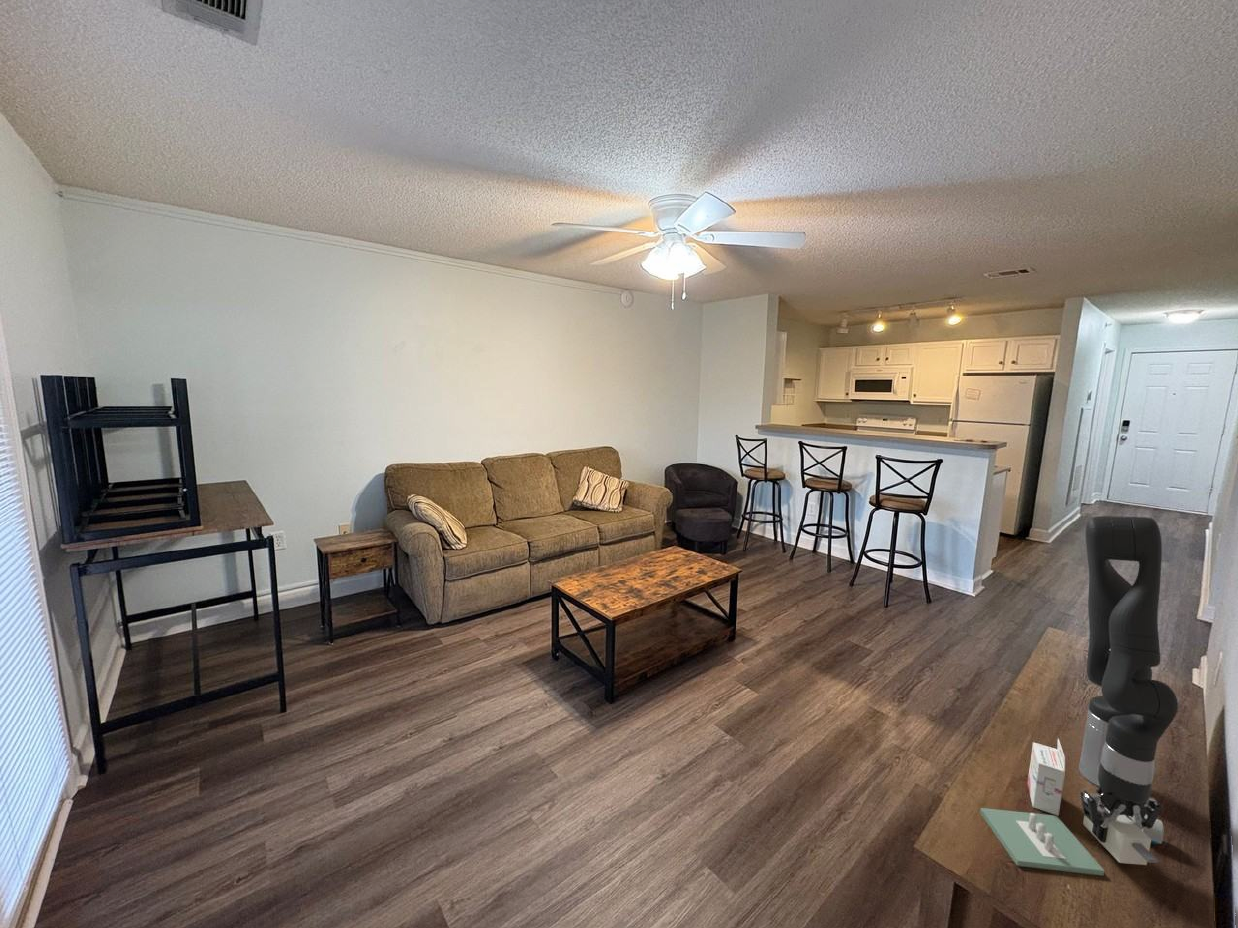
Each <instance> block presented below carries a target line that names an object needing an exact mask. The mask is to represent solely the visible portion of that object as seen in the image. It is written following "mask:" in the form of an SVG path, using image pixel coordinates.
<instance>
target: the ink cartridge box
mask: <svg viewBox="0 0 1238 928" xmlns="http://www.w3.org/2000/svg"><path fill="white" fill-rule="evenodd" d="M1062 747H1063V746H1062V745H1061V741H1060V739H1059V738H1057V748H1054V747H1050V746H1048V745H1044V744H1041V743H1037V742H1034V741H1032V749H1031V755H1030V756H1031V757H1030V762H1029V771H1028V776H1027V782H1026V783H1027V788H1028V792H1029V796H1030V800H1031V806H1032V808H1035V809H1037V810H1041V811H1043V812H1047V813H1049V814H1051V815H1054V816H1059V815H1060V809H1061V803H1062V797H1063V796H1062V795H1063V788H1064V783H1065V777H1066V776H1065V775H1066V756H1065V754H1064V751H1063V748H1062Z"/></svg>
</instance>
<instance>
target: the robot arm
mask: <svg viewBox="0 0 1238 928" xmlns="http://www.w3.org/2000/svg"><path fill="white" fill-rule="evenodd" d="M1085 546H1086V553H1087V554H1086V555H1087V565H1088V575H1089V577H1088V581H1089V582H1088V597H1087V599H1088V600H1087V601H1088V602H1087V608H1088V609H1087V611H1088V612H1087V613H1088V624H1089V625H1088V627H1089V628H1088V629H1089V641H1088V651H1087V660H1086V675H1087V677H1088V680H1089V681H1090V682H1091V683H1092V684H1094V685H1097V686H1098V687H1100V689H1101V695H1097V696H1093V697H1091V699H1090V700H1089V704H1088V709H1087V715H1086V724H1085V727H1084V728H1085V729H1084V735H1083V740H1082V741H1083V742H1082V749H1081V754H1080V760H1079V765H1078V771H1079V772H1080V775H1082V777H1083V778H1085V779H1086V780H1087V781H1089V782H1090V783H1091V784H1094V785H1095V786H1097V787H1098V788H1097V790H1096V792H1094V793H1093V792H1092V793H1088V792H1087V790H1082V791H1080V799H1081V805H1082V813H1083V815H1085V816H1086V817H1087V818H1088V819H1089V820H1090V821H1091V822H1092V823H1093V829H1092V832H1093V834H1094V835H1095V836H1096V837H1097V838H1096V837H1095V836H1094V835H1093V834H1092V835H1093V836H1094V837H1095V838H1096V840H1098V842H1099V841H1100V842H1104V843H1105V842H1106V838H1107V832H1108V828H1107V827H1108V826H1109V823H1110V822H1111V821H1115V820H1116V819H1117V817H1118V816H1119V815H1125V816H1126V817H1128V818H1129V819H1130V820H1131V821H1132V822H1133V823H1134V824H1135V825H1137V826H1138V827H1139V828H1140V829H1141V830H1142V829H1143V827H1147V828H1148V829H1150V828H1152V827H1153V825H1154V823H1155V821H1156V819H1158V817H1159V815H1160V813H1161V811H1162V809H1163V805H1162V804H1161V803H1160V802H1159V801H1157V800H1156V798H1154V797H1153V796H1151V790H1152V785H1153V779H1154V775H1155V757H1156V751H1157V748H1158V747H1157V746H1158V741H1159V740H1160V739H1161V737H1163V735H1164V733H1165V732H1166V730H1167V729H1168V728H1169V726H1170V725H1171V724H1172V723H1173V721H1174V720H1175V718H1176V716H1177V713H1178V711H1179V702H1178V697H1177V695H1176V693H1175V692H1174V690H1173V689H1172V688H1171V687H1170V686H1169V685H1167V684H1166V683H1164V682H1162V681H1159V680H1157V679H1153V669H1152V668H1155V667H1158V666H1159V665H1160V663H1161V649H1160V637H1159V630H1158V629H1159V627H1158V624H1159V623H1158V618H1159V617H1158V616H1159V615H1158V612H1159V611H1158V610H1159V601H1160V589H1161V579H1162V578H1161V577H1162V576H1161V575H1162V556H1163V555H1162V552H1163V551H1162V550H1163V543H1162V535H1161V530H1160V526H1159V524H1158V523H1157V521H1156V520H1155V519H1153V518H1152V517H1147V516H1145V517H1144V516H1142V517H1141V516H1112V515H1110V516H1109V515H1108V516H1107V515H1106V516H1105V515H1104V516H1103V515H1102V516H1101V515H1099V516H1092V517H1090V518H1088V521H1087V522H1086V526H1085ZM1111 560H1113V561H1126V562H1127V561H1129V562H1138V564H1139V565H1138V573H1137V576H1136V579H1135V581H1134V583H1133V584H1131V583H1130V582H1129V581H1128V580H1127V579H1125V578H1124V577H1123V576H1122V575H1121V574H1119V572H1118V571H1116V569H1115V568H1114V566H1113V565H1112V563H1111V562H1110V561H1111ZM1105 807H1106V808H1107V809H1108V810H1109V811H1110V813H1109V812H1108V811H1107V810H1106V809H1105ZM1102 814H1103V815H1104V818H1103V819H1102V818H1101V815H1102ZM1145 815H1147V816H1148V817H1147V819H1145V818H1144V817H1145ZM1100 842H1099V843H1100Z"/></svg>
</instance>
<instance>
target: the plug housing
mask: <svg viewBox="0 0 1238 928" xmlns="http://www.w3.org/2000/svg"><path fill="white" fill-rule="evenodd" d="M1105 809H1106V810H1107V811H1108V812H1109V813H1110V811H1109V810H1108V809H1107V808H1106V807H1105ZM1083 815H1084V814H1083ZM1101 818H1102V819H1103V818H1104V815H1103V814H1102V815H1101ZM1082 825H1084V827H1085V828H1086V829H1087V830H1088V831H1089V832H1090V833H1091V834H1092V835H1093V837H1095V839H1097V837H1096V836H1095V835H1094V834H1093V832H1092V829H1093V823H1092V822H1091V821H1090V820H1089V819H1088V818H1087V817H1086V816H1085V815H1084V816H1083V821H1082ZM1107 828H1108V832H1107V838H1106V842H1105V843H1104V842H1100V841H1099V840H1098V842H1099V843H1100V844H1101V845H1102V846H1103V847H1104V848H1105V849H1106V851H1108V852H1109V853H1110V854H1111V856H1112V857H1113V858H1114V859H1115V860H1116V861H1117V862H1118V863H1120V864H1128V865H1129V864H1130V865H1144V866H1147V864H1148V863H1154V864H1158V862H1159V860H1158V859H1157V858H1156V857H1155V855H1153V853H1152V852H1151V851H1150V849H1151V844H1152V843H1151V839H1150V838H1149V837H1148V836H1147V835H1146V834H1145V833H1144V832H1143V831H1142V830H1141V829H1140V828H1139V827H1138V826H1137V825H1135V824H1134V823H1133V822H1132V821H1131V820H1130V819H1129V818H1128V817H1126V816H1125V815H1119V816H1118V817H1117V819H1116V820H1115V821H1111V822H1110V823H1109V826H1108V827H1107Z"/></svg>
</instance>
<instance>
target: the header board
mask: <svg viewBox="0 0 1238 928" xmlns="http://www.w3.org/2000/svg"><path fill="white" fill-rule="evenodd" d="M979 809H980V810H979V813H980V815H981V817H982V818H983V820H984V821H985V822H986V823H987V825H988V826H989V828H990V829H991V830H992V832H993V833H994V835H995V836H996V837H997V840H998V841H999V842H1000V844H1001V845H1002V846H1003V848H1004V849H1005V851H1006V852H1007V854H1008V855H1009V856H1010V858H1011V859H1012V861H1013V862H1014V863H1015V865H1016V866H1018V867H1026V868H1035V869H1042V870H1051V871H1060V872H1061V871H1062V872H1068V873H1077V874H1085V875H1093V876H1094V875H1095V876H1104V875H1105V869H1104V868H1103V867H1102V866H1101V865H1100V863H1099V862H1097V860H1096V859H1095V858H1094V857H1093V856H1092V854H1091V853H1090V852H1089V851H1088V849H1086V848H1085V846H1084V845H1083V844H1082V843H1081V842H1080V841H1079V840H1078V838H1077V837H1076V836H1075V835H1074V834H1073V833H1072V832H1071V831H1070V829H1069V828H1068V827H1067V825H1065V824H1064V823H1063V821H1062V820H1061V819H1060V817H1058V815H1055V814H1045V813H1042V814H1041V813H1035V812H1025V811H1014V810H1003V809H994V808H987V807H986V808H985V807H980V808H979Z"/></svg>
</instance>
